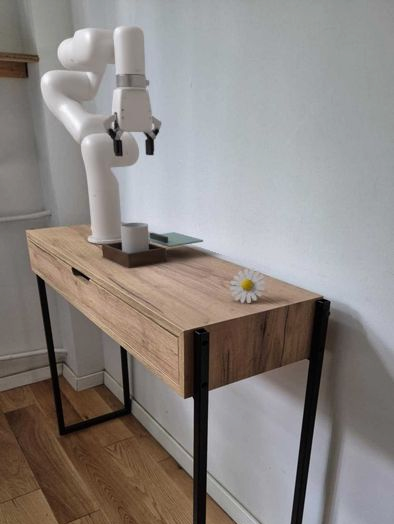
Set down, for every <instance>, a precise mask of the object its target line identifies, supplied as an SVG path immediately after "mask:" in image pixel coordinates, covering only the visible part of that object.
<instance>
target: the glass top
mask: <svg viewBox="0 0 394 524" xmlns="http://www.w3.org/2000/svg"><path fill="white" fill-rule="evenodd" d="M148 240H149V242H152V243H155V244H158V245H160V246H164V247H168V248H172V247H179V246H186V245H191V244H197V243H198V244H199V243H202V242H203V243H204V239H201V238H197V237H193V236H190V235H187V234H182V233H179V232H175V231H173V232H165V233H155V232H149V235H148Z"/></svg>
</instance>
